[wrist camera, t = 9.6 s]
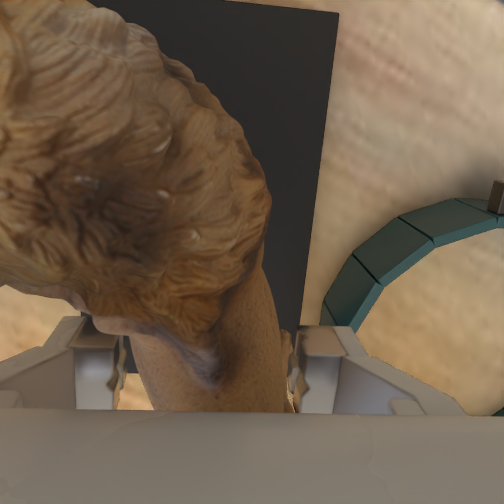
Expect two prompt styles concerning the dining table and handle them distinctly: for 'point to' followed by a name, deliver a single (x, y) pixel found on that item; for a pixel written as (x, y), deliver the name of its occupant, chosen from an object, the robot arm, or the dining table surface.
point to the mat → (259, 108)
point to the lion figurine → (137, 206)
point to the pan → (405, 253)
